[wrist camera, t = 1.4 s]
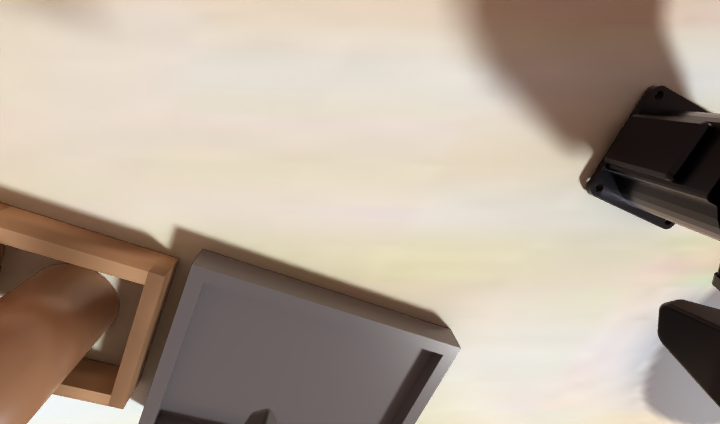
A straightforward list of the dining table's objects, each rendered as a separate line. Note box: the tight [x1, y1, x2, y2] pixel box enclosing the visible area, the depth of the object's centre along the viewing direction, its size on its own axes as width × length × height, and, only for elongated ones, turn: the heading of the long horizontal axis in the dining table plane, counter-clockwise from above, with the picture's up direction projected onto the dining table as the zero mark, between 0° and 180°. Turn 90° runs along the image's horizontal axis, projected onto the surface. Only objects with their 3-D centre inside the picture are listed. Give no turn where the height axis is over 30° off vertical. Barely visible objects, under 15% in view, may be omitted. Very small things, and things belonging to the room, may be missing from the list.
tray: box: [139, 249, 461, 424], centre depth 23 cm, size 16×12×2 cm
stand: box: [0, 203, 179, 409], centre depth 20 cm, size 9×9×2 cm
